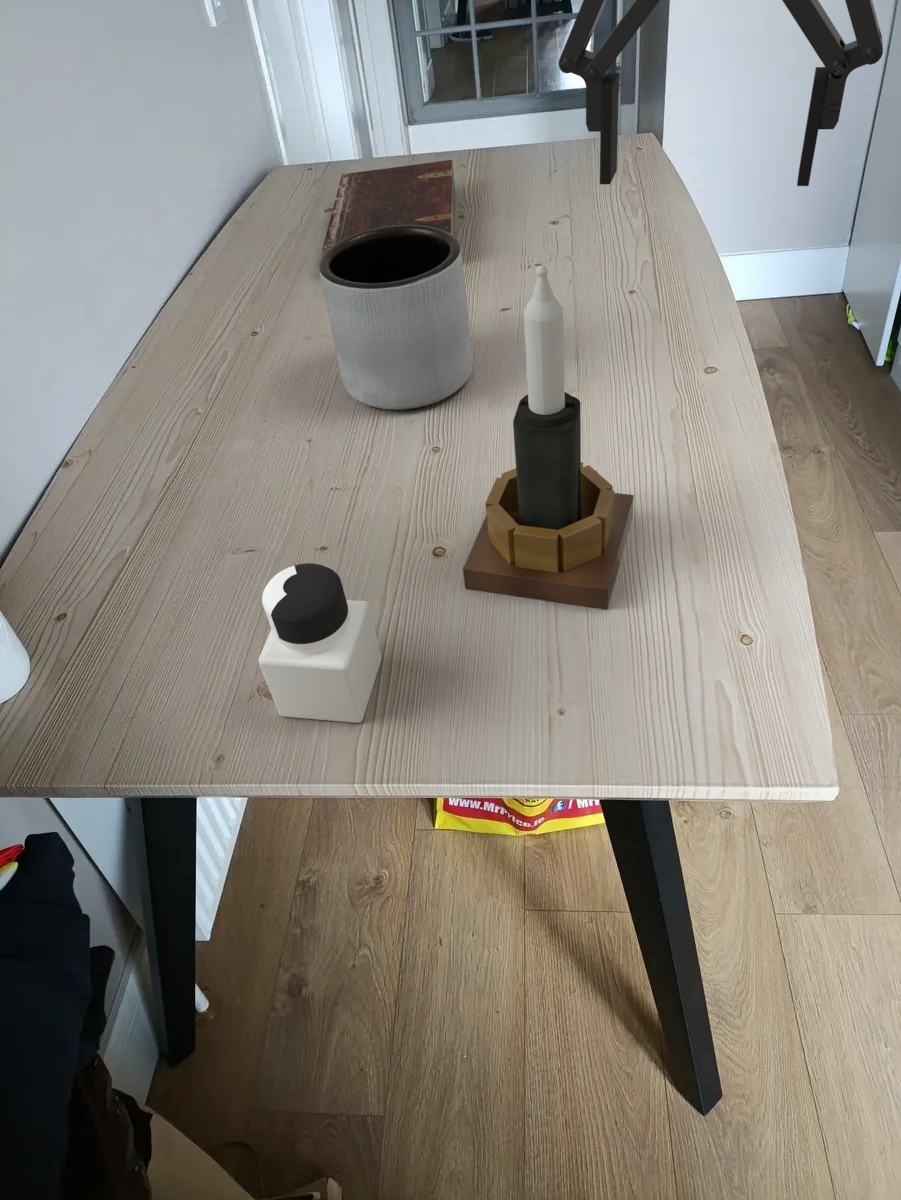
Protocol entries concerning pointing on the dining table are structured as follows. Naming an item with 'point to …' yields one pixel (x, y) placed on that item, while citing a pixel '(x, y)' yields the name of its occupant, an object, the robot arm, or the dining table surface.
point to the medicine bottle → (318, 646)
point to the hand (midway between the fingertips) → (702, 178)
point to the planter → (398, 315)
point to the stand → (551, 546)
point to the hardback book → (393, 200)
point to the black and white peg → (547, 421)
